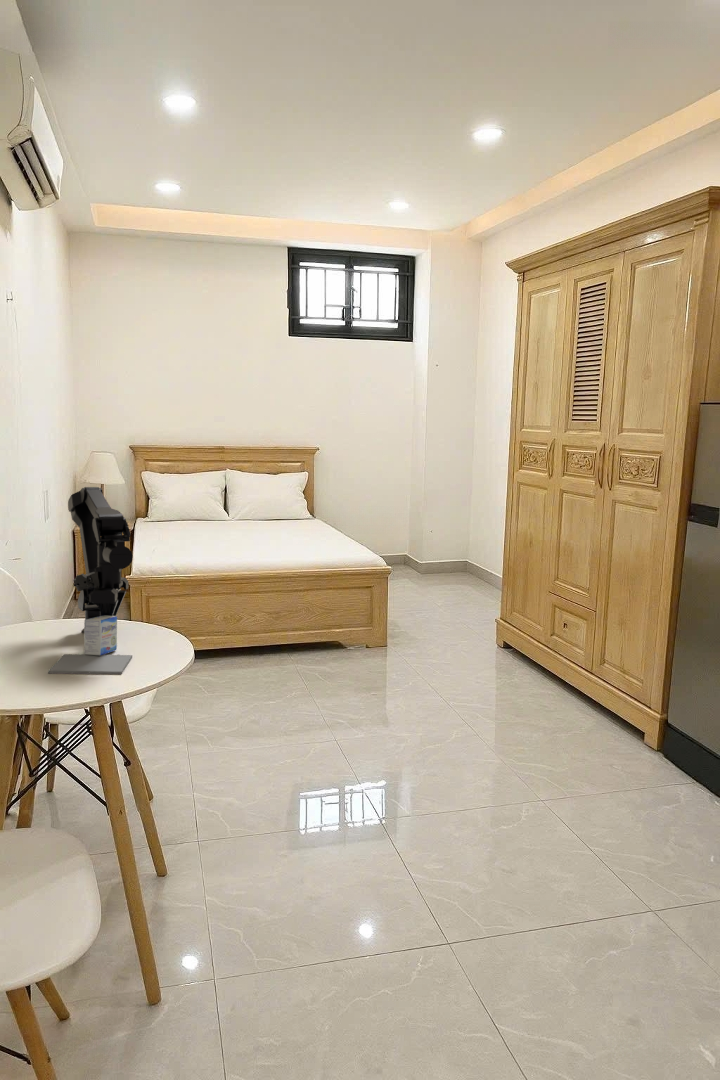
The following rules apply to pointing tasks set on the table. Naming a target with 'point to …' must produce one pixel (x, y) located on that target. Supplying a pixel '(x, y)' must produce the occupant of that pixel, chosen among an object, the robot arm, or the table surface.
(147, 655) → the table surface
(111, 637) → the medicine box
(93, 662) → the mat
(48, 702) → the table surface
